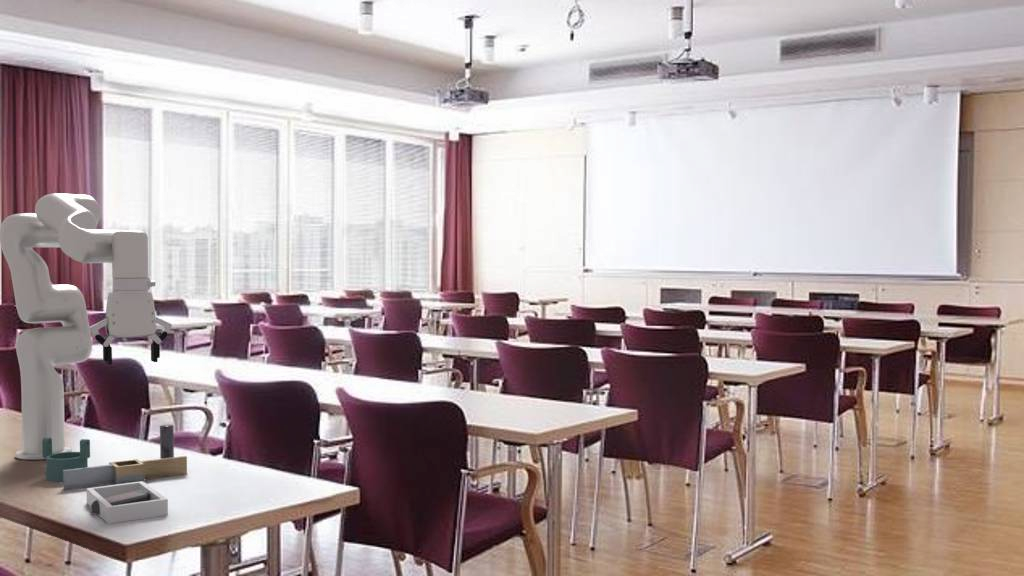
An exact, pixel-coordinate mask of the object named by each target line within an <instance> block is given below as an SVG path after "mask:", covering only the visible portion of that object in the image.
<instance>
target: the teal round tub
mask: <svg viewBox="0 0 1024 576" xmlns="http://www.w3.org/2000/svg"><path fill="white" fill-rule="evenodd" d="M42 452H43V457H44V458H45V459H44V460H45V471H46V472H45V473H46V474H45V477H46V478H45V480H46V481H47V482H49V483H63V470H69V469H77V468H86V467H89V466H88V465H89V464H88V461H89V460H88V459H90V458H91V441H90V439H87V438H86V439H85V438H84V439H83V438H81V439H80V440H79V451H72V452H61V453H55V454H52V439H51V438H43V440H42Z"/></svg>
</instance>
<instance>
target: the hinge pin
mask: <svg viewBox="0 0 1024 576" xmlns="http://www.w3.org/2000/svg"><path fill="white" fill-rule="evenodd" d="M174 426H175V425H174V424H162V425H160V426H159V449H160V450H159V451H160V452H159V453H160V455H159V459H162V458H171V457H175V448H174V447H175V442H174V441H175V436H174V435H175V434H174V433H175V432H174V429H175V427H174Z"/></svg>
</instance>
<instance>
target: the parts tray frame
mask: <svg viewBox="0 0 1024 576" xmlns="http://www.w3.org/2000/svg"><path fill="white" fill-rule="evenodd" d="M85 488H86V504H87V505H88V506H89V507H90V508H91V505H92V503H93V502H94V501H96V500H97V501H98V502H99V506H100V515H99V517H101V519H103V520H104V521H105V522H106V523H107V524H116V523H121V522H127V521H136V520H141V519H147V518H149V519H150V518H155V517H160V516H161V517H162V516H167V515H168V514H169V506H168V505H169V501H168V498H166V497H165V496H164V495H162V494H161V493H160V492H159V491H157V490H155V489H154V488H153V487H152V486H151V485H149V484H147V483H146V481H145V482H143V481H140V482H132V483H125V484H117V485H115V484H108V485H101V486H93V487H85ZM135 490H143V491H148V492H149V494H150V501H143V502H136V503H129V504H121V505H114V506H112V505H111V504H110V503H108V502H107V501H106V500H105V499H104V498H107V497H111V496H115V495H120V494H124V493H128V492H132V491H135Z"/></svg>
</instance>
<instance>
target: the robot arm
mask: <svg viewBox="0 0 1024 576" xmlns="http://www.w3.org/2000/svg"><path fill="white" fill-rule="evenodd" d="M101 213H102V212H101V208H100V205H99V203H98V201H97V200H96V199H95V198H94V197H93V196H91V195H88V194H82V193H81V194H78V193H77V194H76V193H75V194H74V193H59V192H58V193H56V192H54V193H50V194H49V193H48V194H46V195H43V196H41V197H40V198H39V199H38V200H37V202H36V203H35V207H34V212H24V213H23V212H22V213H20V212H19V213H15V214H14V213H13V214H10V215H8V216H7V217H6V218H4V220H3V221H2V223H1V225H0V248H1V251H2V254H3V256H4V258H5V261H6V262H7V265H8V268H9V271H10V275H11V282H12V283H11V284H12V288H13V295H14V300H15V301H14V302H15V307H16V311H17V315H18V317H19V319H20V321H22V322H24V323H28V324H47V323H50V324H51V323H61V325H62V326H49V327H48V326H46V327H35V328H31V329H27V330H26V331H25V330H24V331H23V332H22V333H20V334H19V336H17V338H16V342H15V350H16V356H17V360H18V361H17V362H18V365H19V372H20V386H21V387H20V388H21V389H20V392H21V430H22V431H21V433H22V434H21V435H22V436H21V437H22V441H21V442H22V449H19V450H17V451H15V458H17V459H19V460H26V461H27V460H28V461H30V460H32V461H33V460H35V461H37V460H39V461H40V460H46V459H45V458H44V457H43V452H42V440H43V438H51V439H52V454H55V453H61V452H73V450H72V447H70V446H69V445H68V446H67V445H66V443H65V437H66V436H65V435H66V433H65V432H66V431H65V388H64V387H65V386H64V381H63V379H62V377H61V376H60V374H59V373H58V371H56V369H55V366H59V365H60V366H61V365H70V364H78V363H83V362H85V361H87V360H88V359H89V358H90V356H91V354H92V349H93V348H92V347H93V341H92V336H93V338H94V340H95V341H97V343H99V344H100V345H101V346H102V357H103V359H102V361H104V362H105V364H106V365H107V366H111V365H112V364H113V347H112V346H111V343H113V341H114V340H115V339H116V338H141V337H142V338H143V337H144V338H145V337H148V338H149V339H150V340H151V343H150V360H151V362H154V363H158V359H160V356H161V353H160V352H161V351H160V350H161V349H160V347H161V345H160V344H161V343H162V342H163V341H164V340H165V339H166V337H168V336H169V335H168V334H169V333H170V331H171V328H172V327H173V326H172V323H170V322H168V321H166V320H164V319H161V318H159V317H157V316H156V310H155V309H156V308H155V301H154V297H153V293H152V291H149V290H150V288H152V287H155V286H156V280H152V279H150V277H149V238H148V235H147V232H145V231H143V230H131V229H130V230H127V229H126V230H125V229H97V227H98V224H99V222H100V219H101V216H102V215H101ZM33 248H60V249H61V251H62V252H63V253H64V255H66V256H67V257H70V259H72V260H74V261H76V262H79V263H83V264H111V273H112V274H111V276H112V279H111V281H112V282H111V283H112V292H108V295H107V299H106V309H105V318H103V319H102V320H100V321H98V322H97V323H95V324H91V326H90V322H89V316H88V309H87V304H86V300H85V297H84V295H83V293H82V291H81V290H80V289H79V288H78V287H77V286H76V285H72V284H53V283H52V281H51V277H50V271H49V267H48V265H47V263H46V261H45V260H44V259H43V257H42V256H41V255H40V254H39V253H37V251H35V250H34V249H33ZM157 325H159V326H161V327H162V330H161V332H160V333H159V334H158V335H157V334H156V333H157ZM103 327H104V328H105V333H106V336H105V337H103V336H101V334H100V332H99V330H100V329H103Z"/></svg>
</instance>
